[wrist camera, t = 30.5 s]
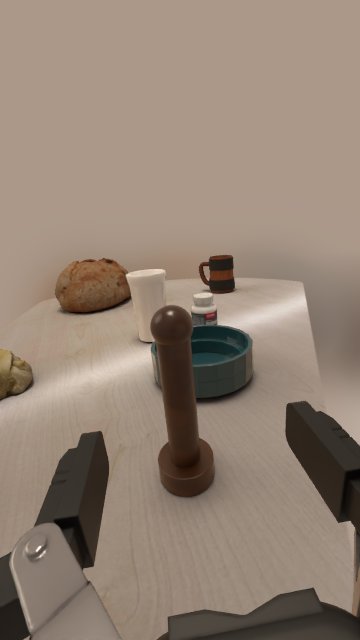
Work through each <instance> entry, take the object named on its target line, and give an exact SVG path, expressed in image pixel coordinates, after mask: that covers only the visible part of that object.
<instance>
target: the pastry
mask: <svg viewBox="0 0 360 640" xmlns="http://www.w3.org/2000/svg"><path fill="white" fill-rule="evenodd" d="M32 378H33V377H32V369H31V366H30V365H29V364H28V363H26V362H25V361H23V360H21V359H20V358H18V357H16V356H14V354H13V353H12V351H10V350H9V351H8V350H2V349H0V399H2V398H4V397H6V396H8V395H10V394H17V393H22V392H23V391H24V390H25V389H26V388H27V386H28V385H29V383H30V382H31V380H32Z"/></svg>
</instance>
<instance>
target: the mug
mask: <svg viewBox="0 0 360 640" xmlns="http://www.w3.org/2000/svg"><path fill="white" fill-rule="evenodd" d="M203 266H209V270H210V279H209V281H207V279H206V277H205V275H204V271H203ZM199 273H200V276H201V279H202V281H203V282H204V284H206V285H208V286H209V287H210V290H211V292H213V293H228V292H231V291H233V290H234V288H235V282H234V277H233V257H232V256H231V255H220V256H212V257H210V259H209V262H203V263H201V264H200V266H199Z"/></svg>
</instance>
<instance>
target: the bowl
mask: <svg viewBox="0 0 360 640" xmlns="http://www.w3.org/2000/svg"><path fill="white" fill-rule="evenodd" d="M190 338H191V350H192V361H193V373H194V385H195V397H196V398H210V397H216V396H221V395H224V394H227V393H231V392H234V391H236V390H237V389H239V388H241V387H242V386H244V385H246V384H247V382H248V381H249V380H250V378H251V377H252V371H253V341H252V339H251V338H250V336H249V335H248V334H246V333H245V332H243V331H241V330H239V329H236V328H232V327H229V326H221V325H195V326H193V332H192V335H191V337H190ZM151 355H152V362H153V370H154V377H155V379H156V381H157V383H158V385H159V386H161V378H160V370H159V362H158V355H157V347H156V341H154V342H153V343H152V346H151ZM161 387H162V386H161Z"/></svg>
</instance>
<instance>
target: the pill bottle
mask: <svg viewBox="0 0 360 640" xmlns="http://www.w3.org/2000/svg"><path fill="white" fill-rule="evenodd" d="M193 299H194V303H195V305H194V306H193V307H192V308H191V315H192V321H193V326H195V325H217V308H216V306H215V305H214V304H212V302H213V294H211V293H199V294H195V295H194V296H193Z"/></svg>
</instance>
